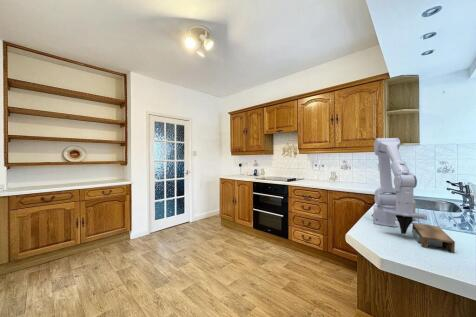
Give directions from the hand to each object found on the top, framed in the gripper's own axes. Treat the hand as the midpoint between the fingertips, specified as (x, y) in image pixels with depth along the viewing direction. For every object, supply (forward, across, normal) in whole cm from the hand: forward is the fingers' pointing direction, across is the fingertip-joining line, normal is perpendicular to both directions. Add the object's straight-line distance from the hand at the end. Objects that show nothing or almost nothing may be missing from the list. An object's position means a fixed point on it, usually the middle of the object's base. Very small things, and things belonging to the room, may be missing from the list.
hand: (403, 233), depth 88 cm
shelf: (+1, +9, 0) cm, 9 cm away
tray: (+1, +8, 0) cm, 8 cm away
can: (+2, +6, +31) cm, 32 cm away
